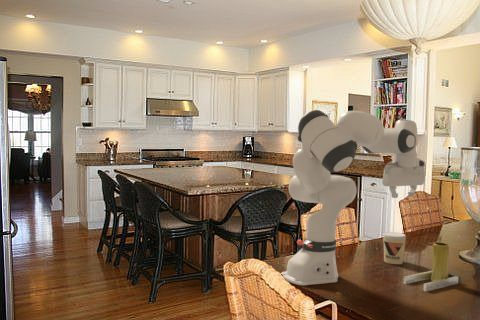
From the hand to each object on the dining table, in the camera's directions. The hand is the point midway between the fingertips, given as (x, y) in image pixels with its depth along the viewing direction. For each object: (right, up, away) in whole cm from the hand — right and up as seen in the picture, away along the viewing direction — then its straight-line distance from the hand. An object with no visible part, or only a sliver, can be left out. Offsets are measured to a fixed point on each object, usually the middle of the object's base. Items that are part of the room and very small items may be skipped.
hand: (402, 197), depth 168 cm
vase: (+11, -31, -7) cm, 34 cm away
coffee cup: (+3, -30, +18) cm, 35 cm away
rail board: (+7, -31, -10) cm, 33 cm away
